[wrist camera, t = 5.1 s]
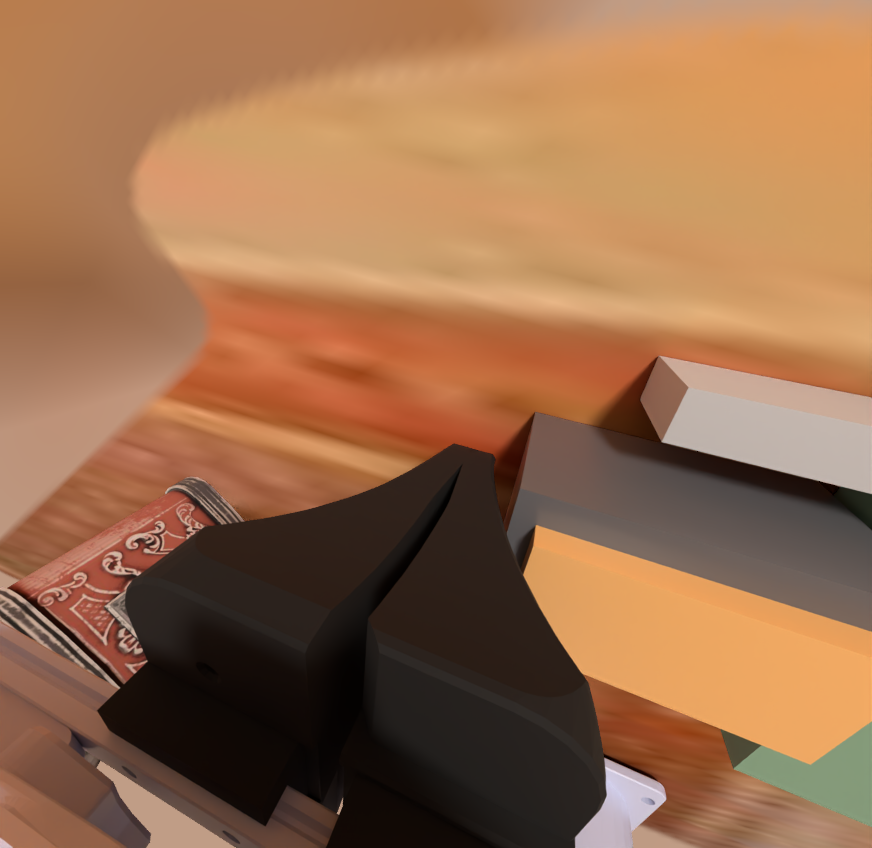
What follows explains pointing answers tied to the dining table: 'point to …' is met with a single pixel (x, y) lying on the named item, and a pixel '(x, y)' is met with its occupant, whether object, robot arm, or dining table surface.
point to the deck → (795, 454)
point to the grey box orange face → (699, 583)
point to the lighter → (108, 583)
